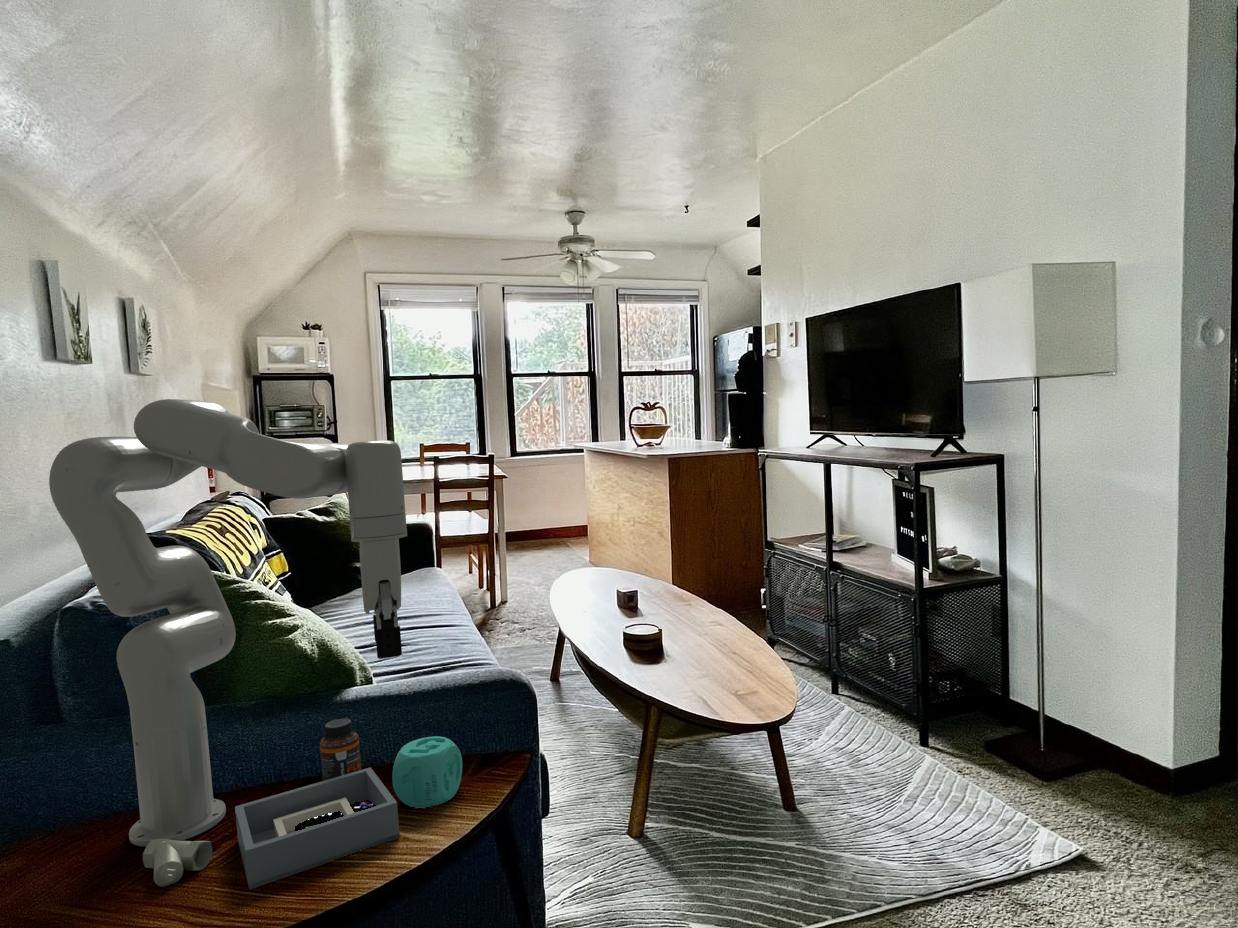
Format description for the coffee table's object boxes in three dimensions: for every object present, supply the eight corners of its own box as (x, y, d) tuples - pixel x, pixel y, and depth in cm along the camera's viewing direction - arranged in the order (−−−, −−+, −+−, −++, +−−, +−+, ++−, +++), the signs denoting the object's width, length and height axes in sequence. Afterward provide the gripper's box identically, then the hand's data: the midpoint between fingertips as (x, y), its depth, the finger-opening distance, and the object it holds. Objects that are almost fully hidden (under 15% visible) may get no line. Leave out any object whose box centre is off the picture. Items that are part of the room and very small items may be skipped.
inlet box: (238, 840, 106) (234, 806, 106) (373, 798, 116) (370, 767, 116) (249, 889, 93) (245, 850, 93) (400, 837, 103) (396, 802, 103)
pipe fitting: (174, 894, 94) (214, 861, 101) (170, 866, 94) (210, 834, 101) (123, 890, 96) (165, 858, 103) (118, 862, 96) (161, 831, 102)
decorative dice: (393, 808, 112) (389, 756, 112) (419, 783, 120) (415, 735, 120) (442, 810, 110) (437, 757, 110) (464, 785, 118) (460, 736, 118)
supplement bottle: (354, 799, 116) (348, 728, 116) (317, 802, 116) (311, 731, 116) (368, 782, 122) (362, 714, 122) (332, 784, 122) (326, 717, 122)
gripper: (350, 526, 111) (359, 638, 111) (350, 536, 95) (361, 668, 95) (402, 521, 114) (410, 631, 114) (411, 530, 97) (420, 659, 98)
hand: (388, 648), depth 105 cm, fingers open, 9 cm apart
